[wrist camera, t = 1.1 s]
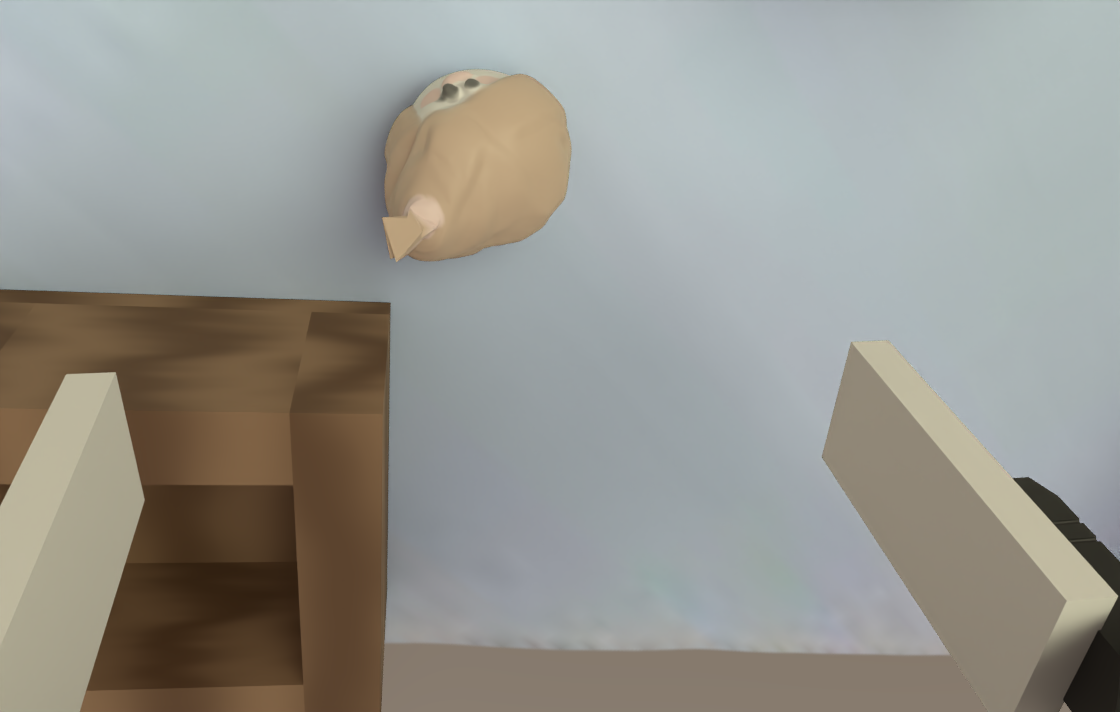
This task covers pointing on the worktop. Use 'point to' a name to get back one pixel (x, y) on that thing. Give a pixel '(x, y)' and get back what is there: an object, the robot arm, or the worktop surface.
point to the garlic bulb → (474, 165)
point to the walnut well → (228, 491)
